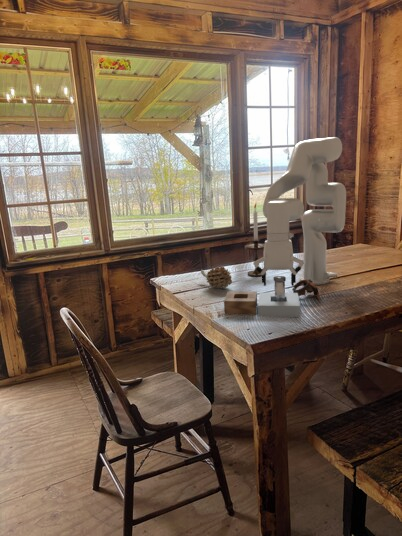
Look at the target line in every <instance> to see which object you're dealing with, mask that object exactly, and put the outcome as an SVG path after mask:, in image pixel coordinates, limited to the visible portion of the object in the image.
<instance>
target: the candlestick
mask: <svg viewBox="0 0 402 536" xmlns="http://www.w3.org/2000/svg"><path fill="white" fill-rule="evenodd" d="M252 220H253V239H251V241H252V242H253V243H249V244H248V243H247V244H246V245H244V249H245V250H249V251H251V250H252V251H254V258H253V262H255V261H257V260H258V259H260V258H259V256H258V255H259V254H258V253H259V251H260V250H264V244H265V243H261V242H259V241H261V239H259V232H258V231H259V228H258V224H259V223H258V211H257V203H255V204H254V210H253V219H252ZM258 265H259V266H260V263H259V264H258ZM254 268H255V267H254ZM265 274H266V275H267V271H266V272H265ZM247 276H248V277H253V278H260V277H261V278H262V275H261V274H260V273H259V272H258V271H257V270H256V268H255V269H253V270H250V271H247Z"/></svg>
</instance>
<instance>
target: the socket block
mask: <svg viewBox="0 0 402 536" xmlns="http://www.w3.org/2000/svg"><path fill="white" fill-rule="evenodd" d="M258 296H259V297H258V302H257V311H258V312H257V313H258V314H257V315H258V317H266V318H267V317H268V318H270V317H272V318H274V317H276V318H277V317H279V318H301V303H300V299H299V297H300V296H298V293H293V292H285V302H275V292H259V295H258Z"/></svg>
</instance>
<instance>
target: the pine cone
mask: <svg viewBox="0 0 402 536" xmlns="http://www.w3.org/2000/svg"><path fill="white" fill-rule="evenodd" d="M200 272H201V275H202V276H203V277H205V279H206V283H208V284H209V286H210V287H211V288H213V287H214V288H215V289H218V288H219V289H223V288H225V289H226V288H227V287H229V286H230V285H231V284H232V283H233V280H232V275H231V274H232V272H230V270H229V268H227V269H226V268H225V266H220V267H219V266H216V267H215V268H212V269H210V270H209V271H207V274H206V272H205V270H203V269H201V270H200Z"/></svg>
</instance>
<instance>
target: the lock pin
mask: <svg viewBox="0 0 402 536" xmlns="http://www.w3.org/2000/svg"><path fill="white" fill-rule="evenodd" d="M286 280H287V277H286V276H284V275H276V276H274V277H273V282H274V284H273V285H274V293H275V302H285V293H286Z"/></svg>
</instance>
